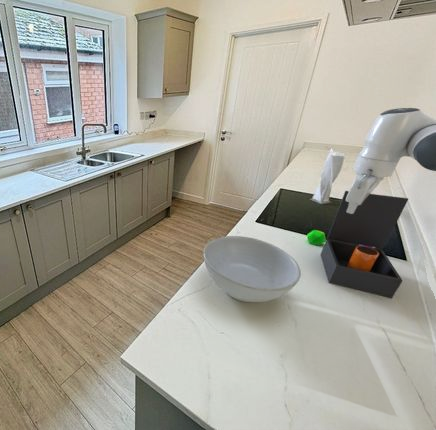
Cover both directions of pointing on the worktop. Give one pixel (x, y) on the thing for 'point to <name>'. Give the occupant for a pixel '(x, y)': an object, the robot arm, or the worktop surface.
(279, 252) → the decorative bowl
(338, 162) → the skyscraper
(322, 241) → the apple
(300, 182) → the worktop surface
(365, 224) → the box lid
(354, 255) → the cup
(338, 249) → the black box
